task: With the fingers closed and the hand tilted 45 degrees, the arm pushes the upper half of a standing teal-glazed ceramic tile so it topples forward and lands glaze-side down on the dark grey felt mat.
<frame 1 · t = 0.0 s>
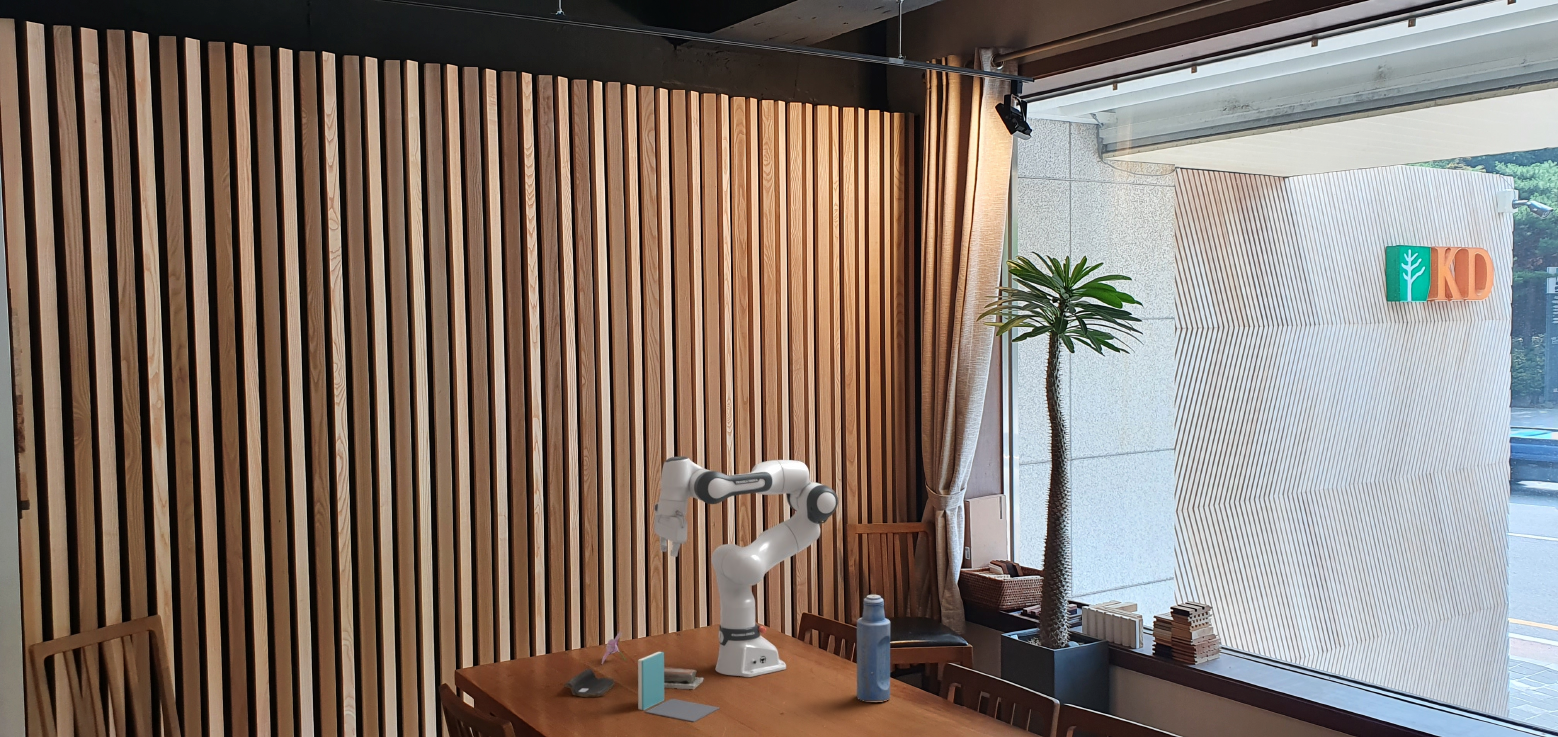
hand: (668, 553, 337), 39 cm above the table, tool pointing down, fingers open, 8 cm apart
mat: (682, 710, 308), on the table
packaged product: (671, 684, 334), on the table
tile: (651, 704, 313), on the table
bottle: (873, 698, 318), on the table
lily: (612, 661, 358), on the table
pottery fragment: (590, 691, 327), on the table
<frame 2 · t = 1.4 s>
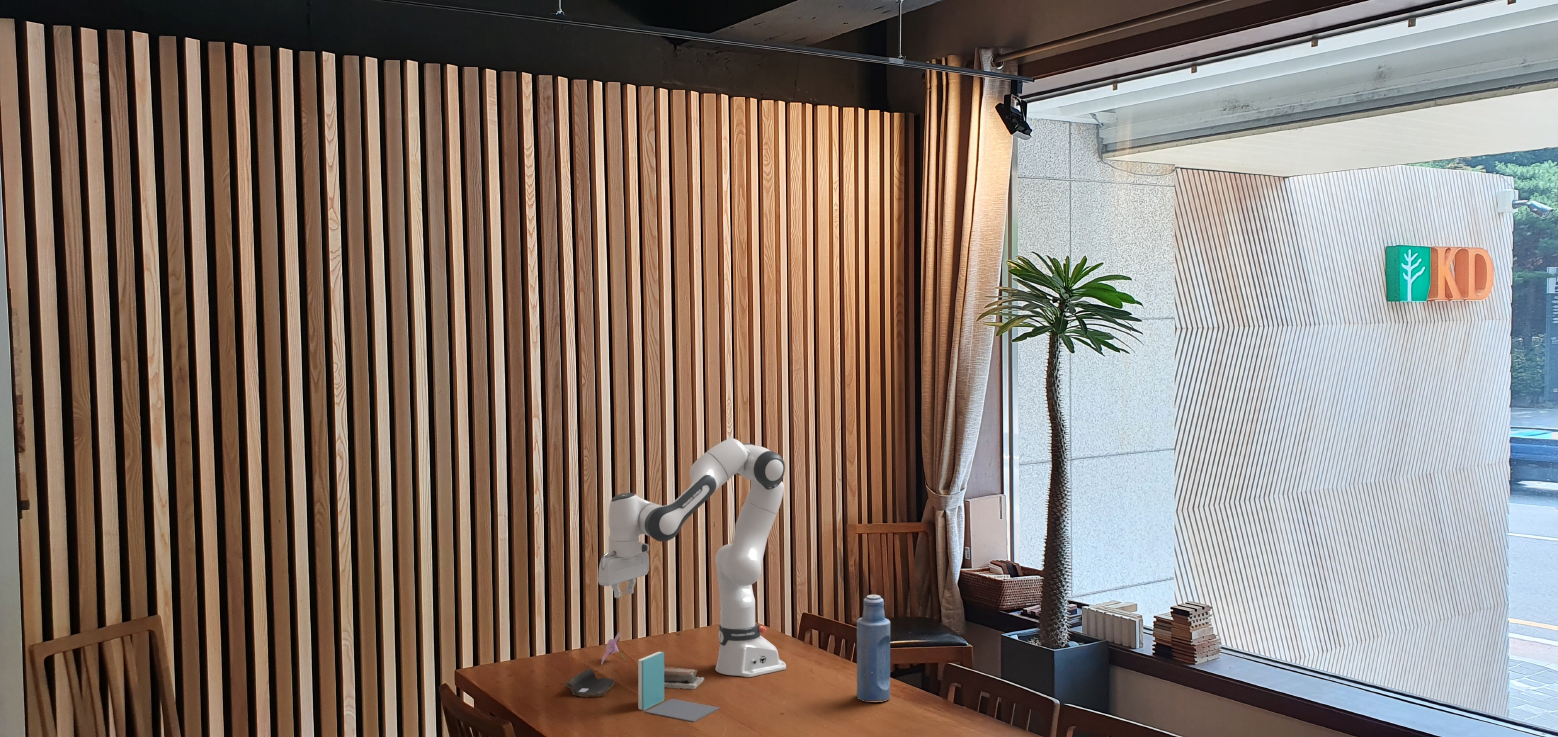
hand: (623, 595, 323), 29 cm above the table, tool pointing down, fingers open, 4 cm apart
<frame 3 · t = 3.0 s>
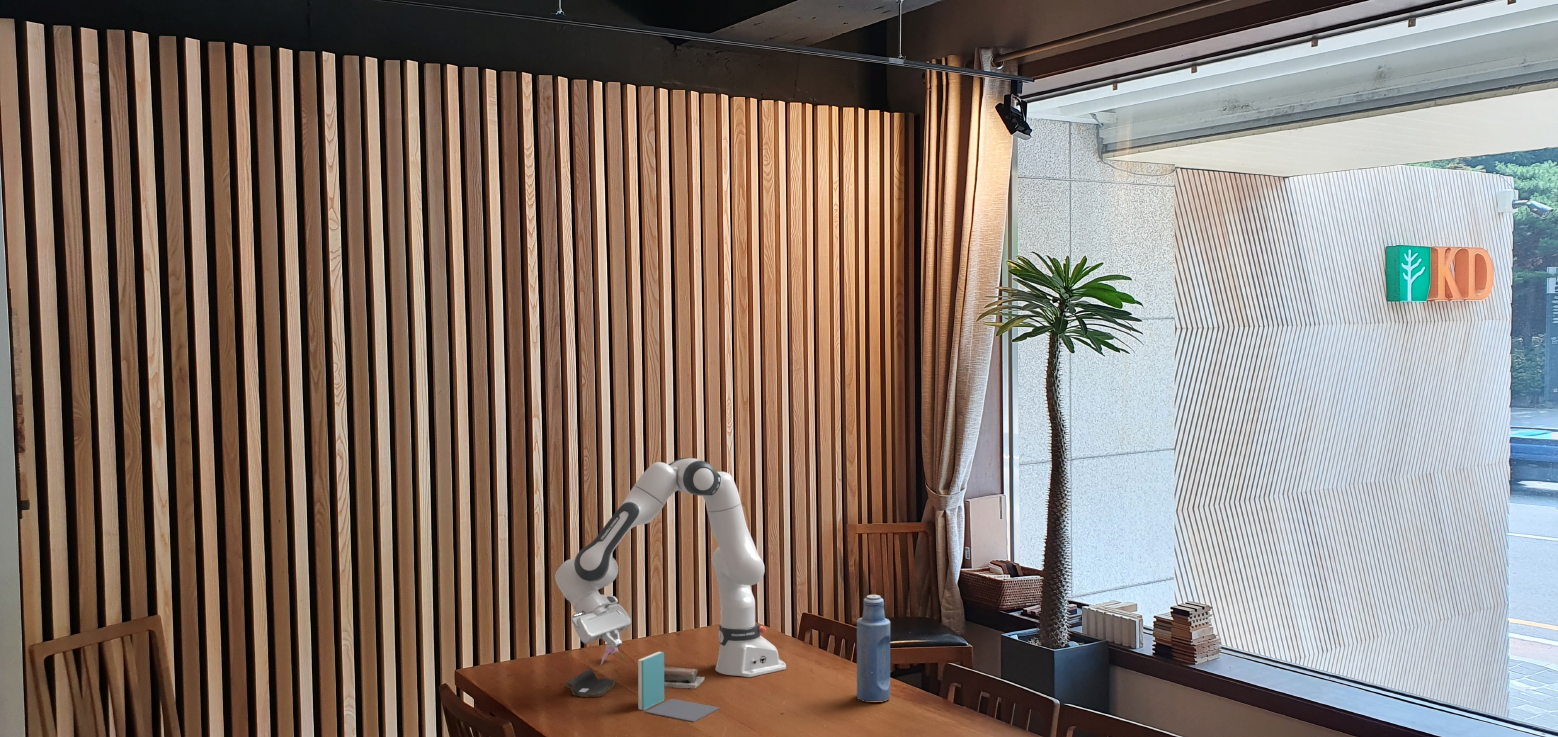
hand: (618, 646, 319), 15 cm above the table, tool tilted 45°, fingers closed
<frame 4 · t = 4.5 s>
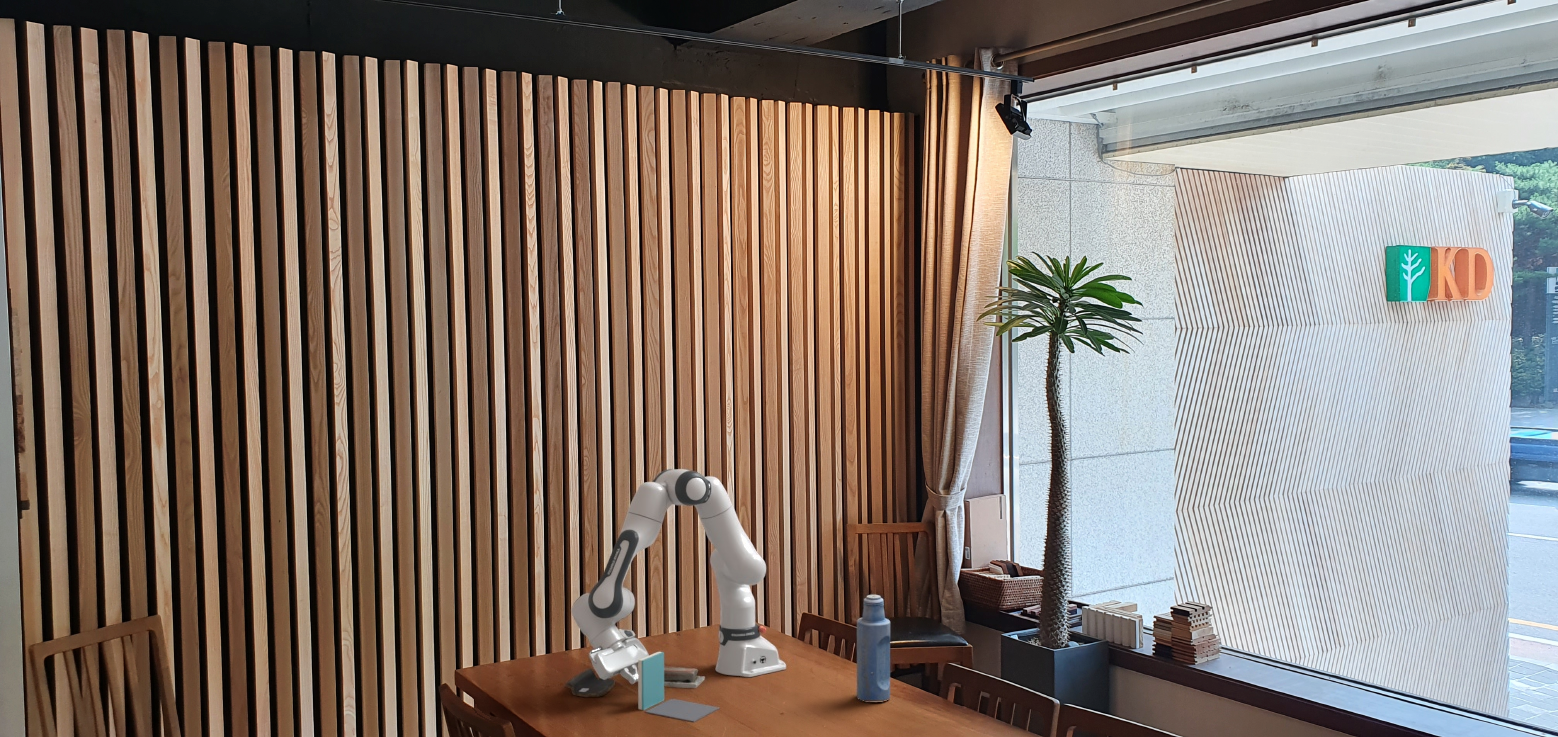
hand: (636, 681, 316), 6 cm above the table, tool tilted 45°, fingers closed
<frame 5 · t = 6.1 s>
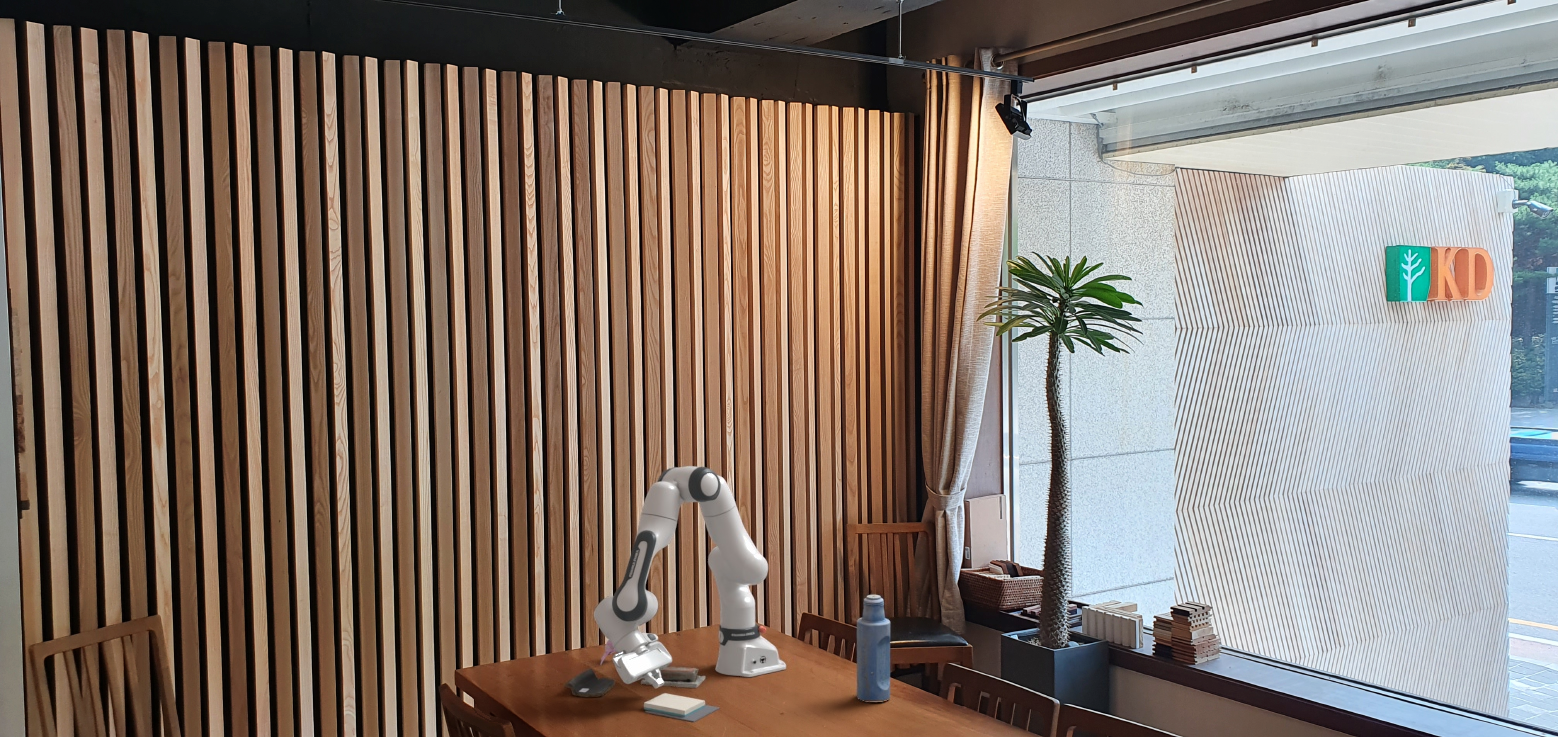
hand: (660, 685, 312), 6 cm above the table, tool tilted 45°, fingers closed
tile: (654, 700, 313), point 1 cm above the table, tilted 90°, touching mat
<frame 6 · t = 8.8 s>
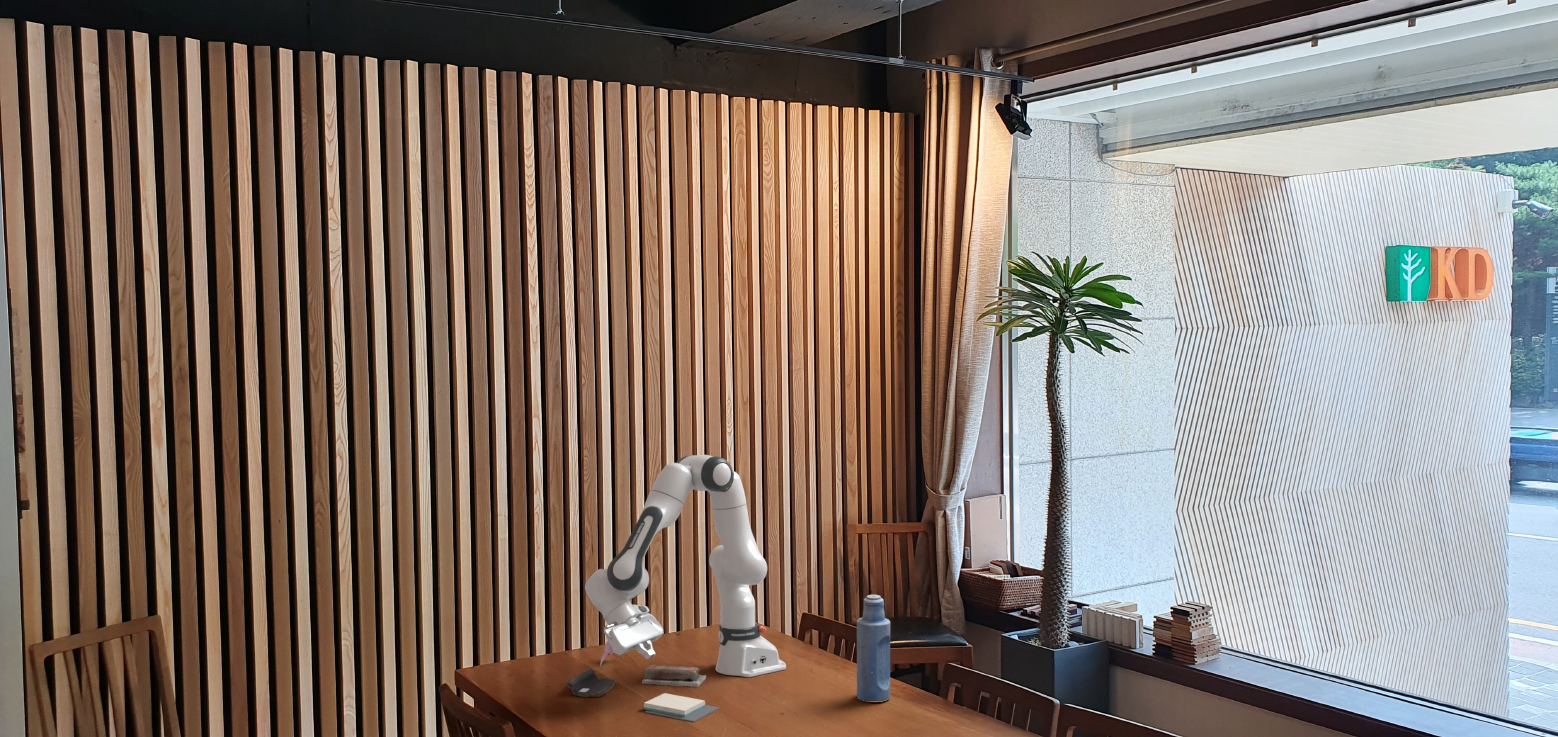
hand: (651, 656, 313), 14 cm above the table, tool tilted 45°, fingers closed
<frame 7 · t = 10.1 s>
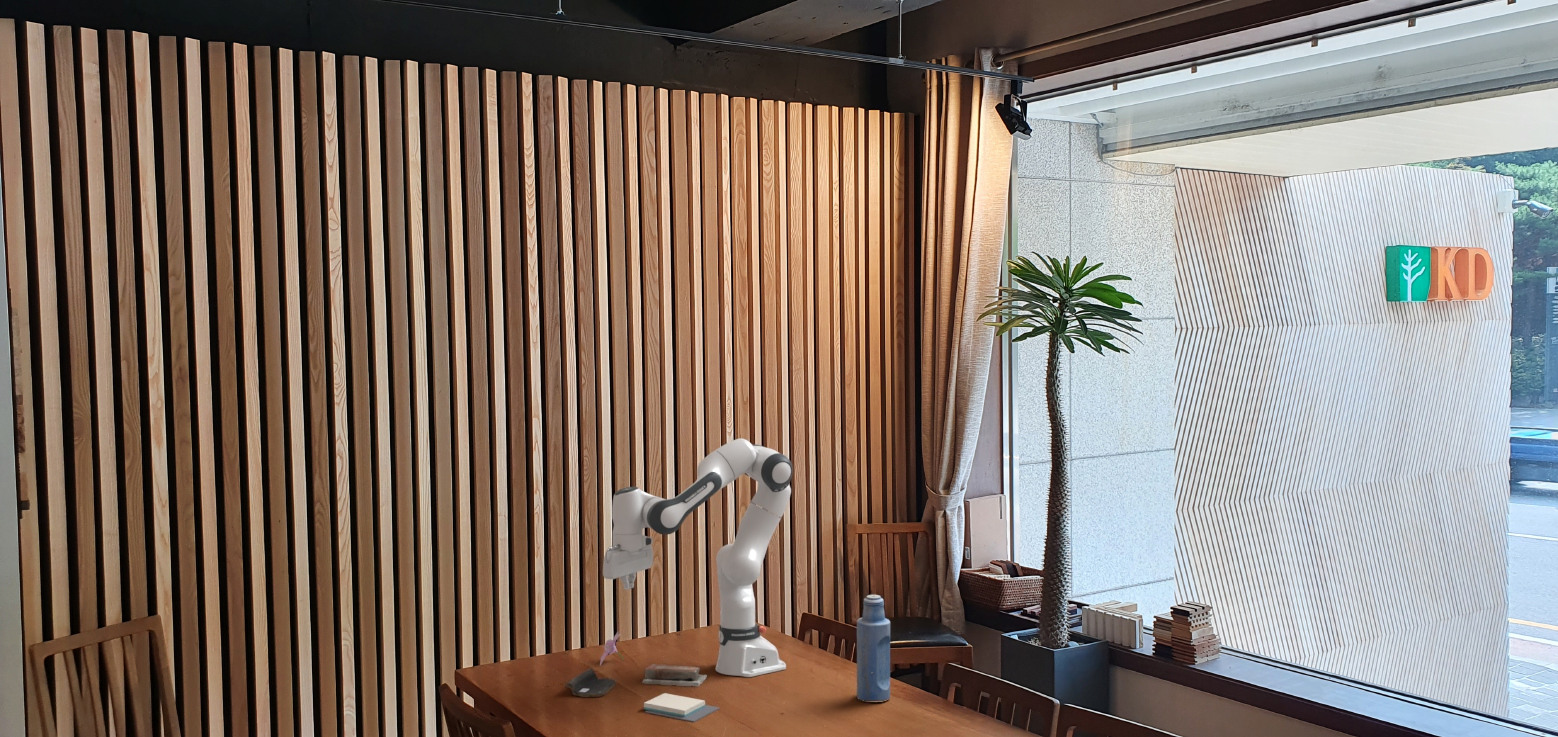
hand: (628, 588, 325), 31 cm above the table, tool pointing down, fingers closed
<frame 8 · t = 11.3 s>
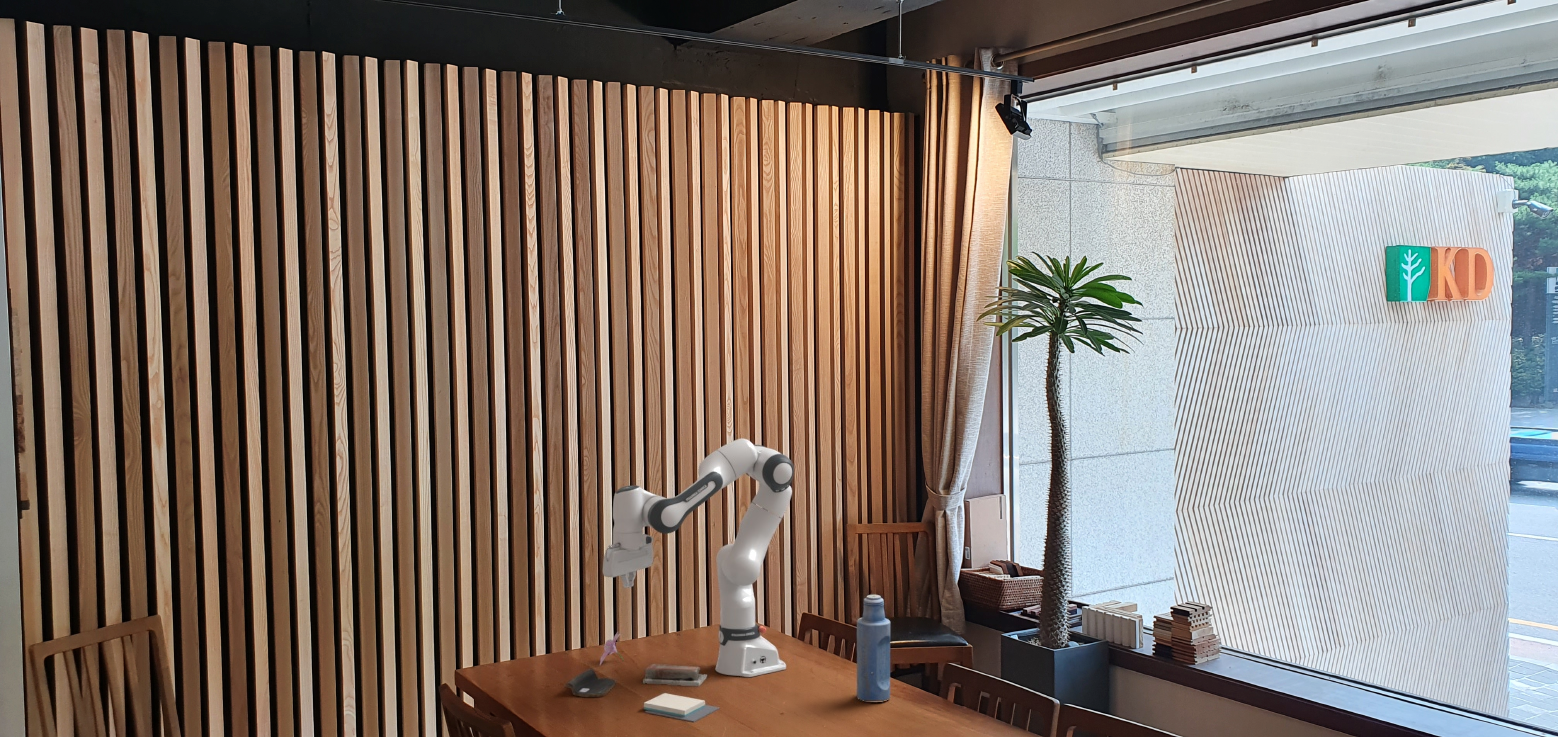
hand: (628, 586, 326), 31 cm above the table, tool pointing down, fingers closed
at the end: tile tilted 90°; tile touching mat; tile inside the target area (3.5 cm from its centre), point 1.2 cm above the table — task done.
